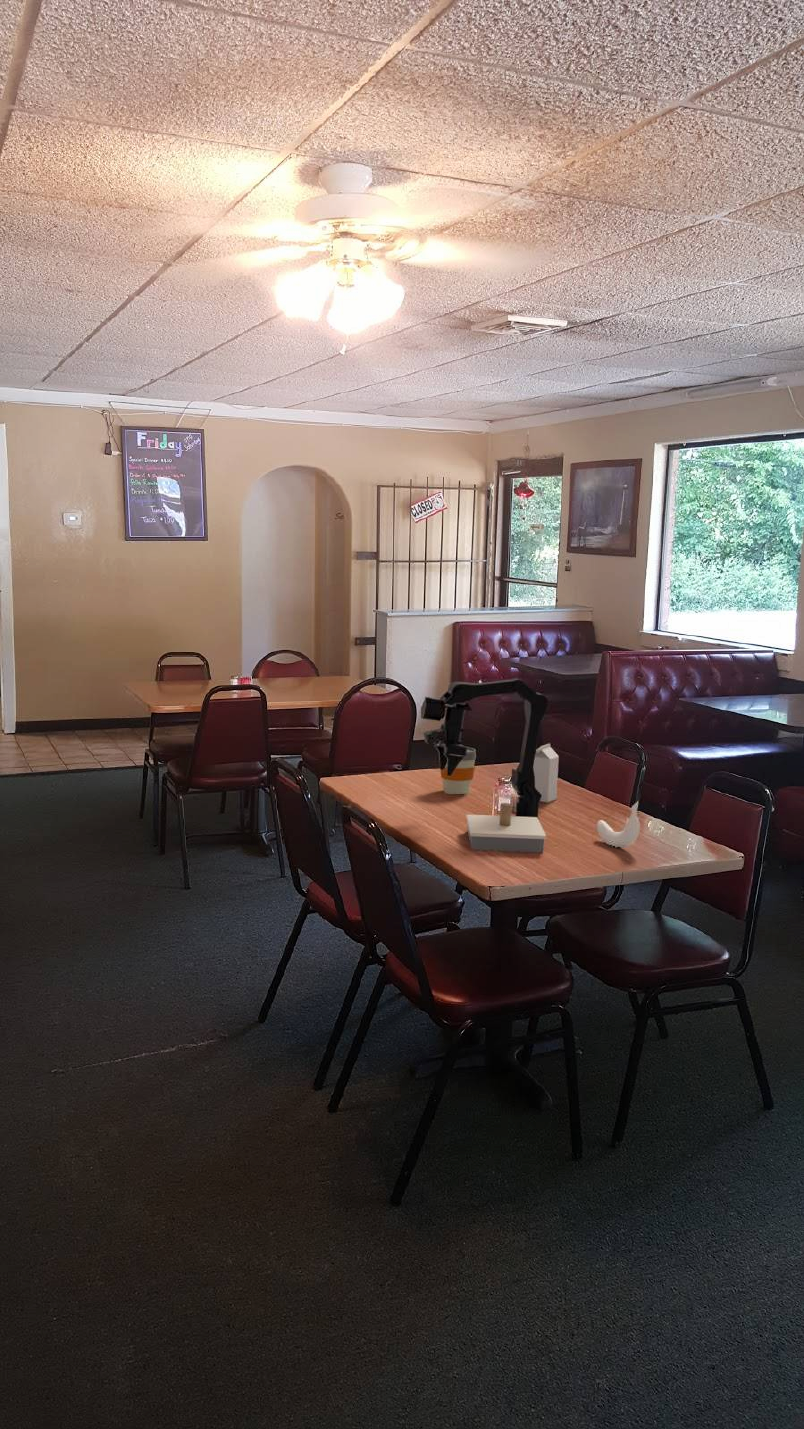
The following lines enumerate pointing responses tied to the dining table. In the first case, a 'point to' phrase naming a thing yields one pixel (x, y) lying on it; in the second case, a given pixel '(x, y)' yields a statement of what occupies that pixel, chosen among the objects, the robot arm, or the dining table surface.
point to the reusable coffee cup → (460, 775)
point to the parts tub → (506, 844)
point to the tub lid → (505, 825)
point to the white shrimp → (624, 836)
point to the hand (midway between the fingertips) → (445, 772)
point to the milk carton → (546, 772)
